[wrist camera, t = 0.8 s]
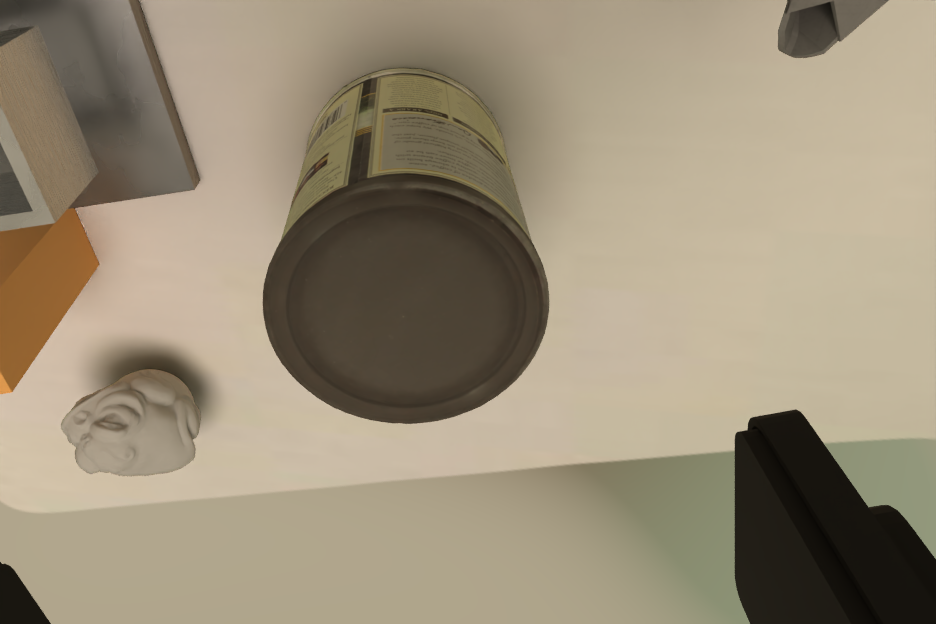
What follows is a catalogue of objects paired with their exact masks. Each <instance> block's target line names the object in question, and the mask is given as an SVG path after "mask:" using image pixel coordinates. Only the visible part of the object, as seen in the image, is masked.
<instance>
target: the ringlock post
mask: <svg viewBox="0 0 936 624" xmlns="http://www.w3.org/2000/svg"><path fill="white" fill-rule="evenodd" d="M199 181H200V178H199V176H198V173H197V170H196V167H195V164H194V161H193V158H192V155H191V152H190V149H189V146H188V144H187V141H186V138H185V135H184V132H183V129H182V126H181V123H180V120H179V117H178V114H177V111H176V109H175V106H174V103H173V100H172V97H171V94H170V91H169V88H168V85H167V82H166V79H165V76H164V74H163V71H162V68H161V65H160V62H159V59H158V56H157V53H156V50H155V47H154V44H153V41H152V39H151V36H150V33H149V30H148V27H147V24H146V21H145V18H144V15H143V12H142V9H141V6H140V4H139V1H138V0H0V231H6V230H13V229H19V228H26V227H33V226H39V225H46V224H52V223H56V222H57V220H58V219H59V218H60V217H61V216H62V215H63V213H64V212H65V211H66V210H67V209H71V208H78V207H84V206H91V205H97V204H104V203H111V202H117V201H124V200H130V199H137V198H143V197H150V196H157V195H163V194H170V193H176V192H183V191H190V190H195V188H196V186H197V185H198V183H199Z"/></svg>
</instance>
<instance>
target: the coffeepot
mask: <svg viewBox="0 0 936 624" xmlns="http://www.w3.org/2000/svg"><path fill="white" fill-rule="evenodd" d="M887 1H888V0H787V5H786V8H785V11H784V14H783V17H782V20H781V23H780V26H779V29H778V49H779V51H781V52H783V53H785V54H787V55H789V56H792V57H795V58H807V57H813V56H817V55H821V54H824V53H825V52H826V51H827V50H829V49H830V48H831V47H832V46H833V45H834V44H835V43H836V42H837V41H838V40H839V41H842V40H843V39H844V38H845V37H846V36H848V35H849V34H850V33H851V32H852V31H853V30H855V29H856V28H857V27H858V26H859V25H860V24H862V23H863V22H864V21H865V20H866V19H867V18H869V17H870V16H871V15H872V14H873V13H874V12H876V11H877V10H878V9H879V8H880V7H881V6H883V5H884V4H885V3H886V2H887Z"/></svg>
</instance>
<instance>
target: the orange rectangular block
mask: <svg viewBox="0 0 936 624" xmlns="http://www.w3.org/2000/svg"><path fill="white" fill-rule="evenodd" d="M98 266H99V262H98V260H97V258H96V256H95V253H94V251H93V249H92V247H91V245H90V242H89V240H88V238H87V236H86V233H85V231H84V229H83V227H82V224H81V222H80V220H79V218H78V215H77V213H76V211H75V209H74V208H71V209H67V210H66V211H65V212H64V213H63V215H62V216H61V217H60V218H59V219H58V220H57V222H56V223H52V224H46V225H39V226H33V227H26V228H19V229H13V230H6V231H0V394H4V393H11V392H13V390H14V389H15V387H16V386H17V384H18V383H19V381H20V380H21V378H22V377H23V375H24V374H25V373H26V371H27V370H28V368H29V367H30V365H31V364H32V362H33V361H34V359H35V358H36V356H37V355H38V353H39V352H40V351H41V349H42V348H43V346H44V345H45V343H46V342H47V340H48V339H49V337H50V336H51V334H52V333H53V332H54V330H55V329H56V327H57V326H58V324H59V323H60V321H61V320H62V318H63V317H64V315H65V314H66V312H67V311H68V310H69V308H70V307H71V305H72V304H73V302H74V301H75V299H76V298H77V296H78V295H79V293H80V292H81V290H82V289H83V288H84V286H85V285H86V283H87V282H88V280H89V279H90V277H91V276H92V274H93V273H94V271H95V270H96V269H97V267H98Z"/></svg>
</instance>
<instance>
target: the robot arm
mask: <svg viewBox="0 0 936 624" xmlns="http://www.w3.org/2000/svg"><path fill="white" fill-rule="evenodd" d="M735 581H736V586H737V591H738V595H739V598H740V601H741V603H742V606H743V608H744V611H745V613H746V615H747V617H748V620H749V622H750V624H936V559H935V558H934V556H933V555H932V554H931V553H930V551H929V550H928V548H927V547H926V546H925V545H924V543H923V542H922V540H921V539H920V538H919V536H918V535H917V534H916V532H915V531H914V530H913V528H912V527H911V526H910V524H909V523H908V522H907V520H906V519H905V518H904V517H903V516H902V515H901V514H900V513H899V512H898V510H896V509H894V508H893V507H891V506H889V505H880V506H874V507H869V508H868V506H867V505H866V503H865V502H864V501H863V499H862V498H861V496H860V495H859V493H858V492H857V490H856V489H855V488H854V486H853V485H852V483H851V482H850V481H849V479H848V478H847V476H846V475H845V473H844V472H843V470H842V469H841V468H840V466H839V465H838V463H837V462H836V461H835V459H834V458H833V456H832V455H831V453H830V452H829V451H828V449H827V448H826V446H825V445H824V443H823V442H822V441H821V439H820V438H819V436H818V435H817V433H816V432H815V431H814V429H813V428H812V426H811V425H810V423H809V422H808V421H807V419H806V418H805V417H804V415H803V414H802V413H801V412H800V411H798V410H791V411H785V412H780V413H774V414H769V415H763V416H758V417H753V418H750V420H749V422H748V430H747V431H741V432H737V433H736V435H735ZM0 624H51V623H50V622H49V620H48V619H47V618H46V616H45V615H44V613H43V612H42V610H41V609H40V607H39V606H38V605H37V603H36V602H35V600H34V599H33V597H32V596H31V594H30V593H29V591H28V590H27V588H26V587H25V585H24V584H23V582H22V581H21V580H20V578H19V577H18V575H17V574H16V572H15V571H14V570H13V569H12V568H11V566H9V565H6V564H2V563H1V562H0Z"/></svg>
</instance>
